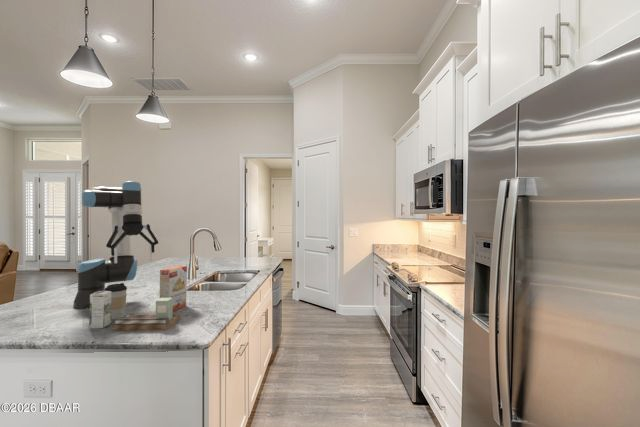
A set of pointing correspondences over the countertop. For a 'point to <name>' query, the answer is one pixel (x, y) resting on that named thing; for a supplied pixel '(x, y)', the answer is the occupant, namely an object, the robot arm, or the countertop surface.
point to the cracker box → (174, 285)
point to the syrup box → (100, 309)
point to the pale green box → (164, 308)
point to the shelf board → (144, 322)
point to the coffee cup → (117, 299)
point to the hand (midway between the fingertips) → (133, 261)
